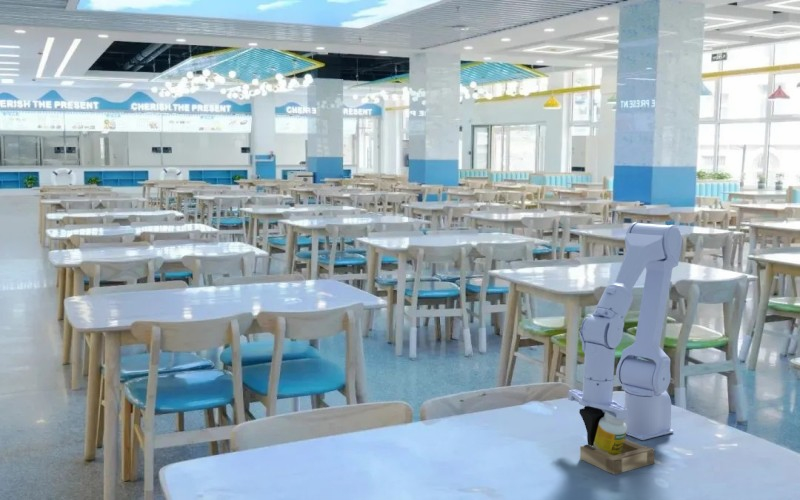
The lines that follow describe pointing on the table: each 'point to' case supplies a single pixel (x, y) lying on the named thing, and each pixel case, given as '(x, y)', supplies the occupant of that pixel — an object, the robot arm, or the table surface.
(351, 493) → the table surface
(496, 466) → the table surface
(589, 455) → the hub cradle
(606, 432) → the supplement bottle
